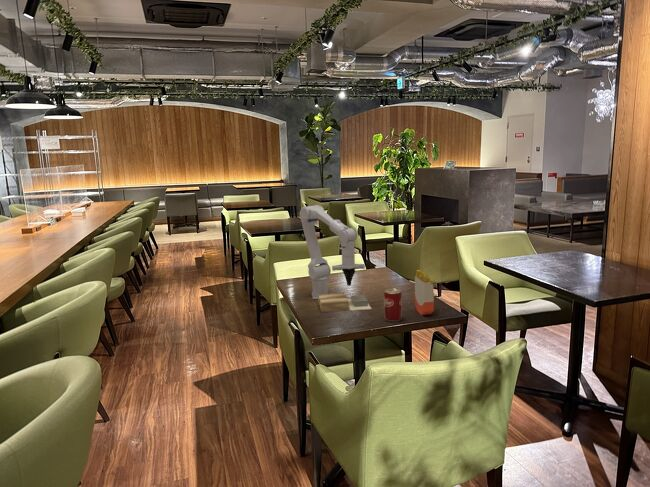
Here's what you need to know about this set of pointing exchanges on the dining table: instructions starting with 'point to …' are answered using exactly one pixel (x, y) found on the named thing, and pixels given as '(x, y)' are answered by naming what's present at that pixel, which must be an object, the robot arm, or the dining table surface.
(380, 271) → the dining table surface
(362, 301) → the slate tile
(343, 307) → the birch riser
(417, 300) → the french fries container
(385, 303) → the soda can
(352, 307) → the placemat
